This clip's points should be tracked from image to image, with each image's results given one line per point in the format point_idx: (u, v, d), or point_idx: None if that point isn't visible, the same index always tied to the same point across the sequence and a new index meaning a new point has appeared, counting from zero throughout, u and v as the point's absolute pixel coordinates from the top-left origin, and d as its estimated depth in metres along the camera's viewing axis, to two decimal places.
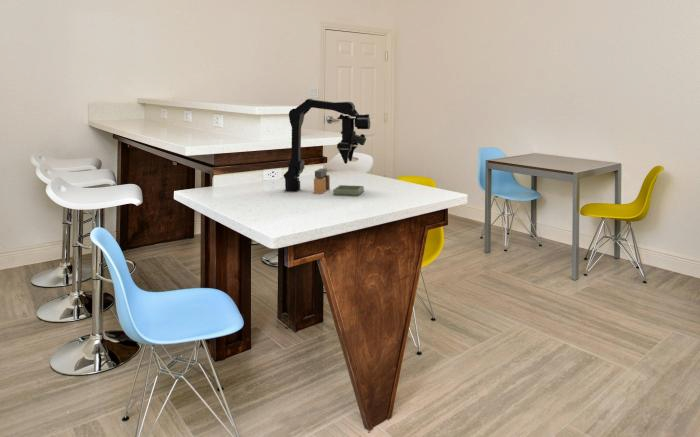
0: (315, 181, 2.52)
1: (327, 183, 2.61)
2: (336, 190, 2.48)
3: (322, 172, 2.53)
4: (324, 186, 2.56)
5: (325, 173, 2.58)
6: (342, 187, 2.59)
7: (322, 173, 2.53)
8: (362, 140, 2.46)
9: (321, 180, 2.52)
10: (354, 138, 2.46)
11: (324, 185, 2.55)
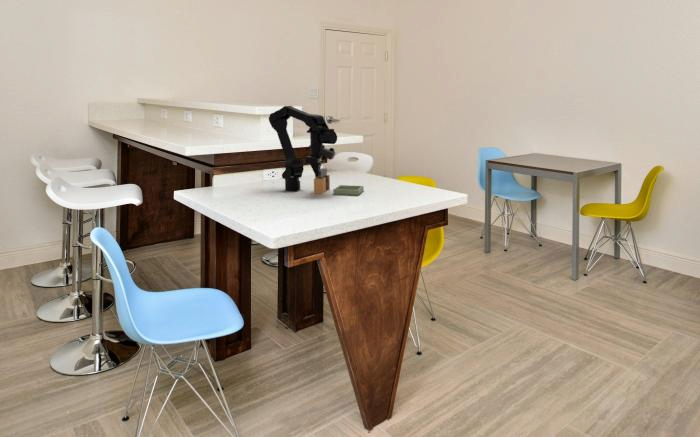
0: (315, 181, 2.52)
1: (327, 183, 2.61)
2: (336, 190, 2.48)
3: (322, 172, 2.53)
4: (324, 186, 2.56)
5: (325, 173, 2.58)
6: (342, 187, 2.59)
7: (322, 173, 2.53)
8: (330, 154, 2.44)
9: (321, 180, 2.52)
10: (322, 152, 2.44)
11: (324, 185, 2.55)
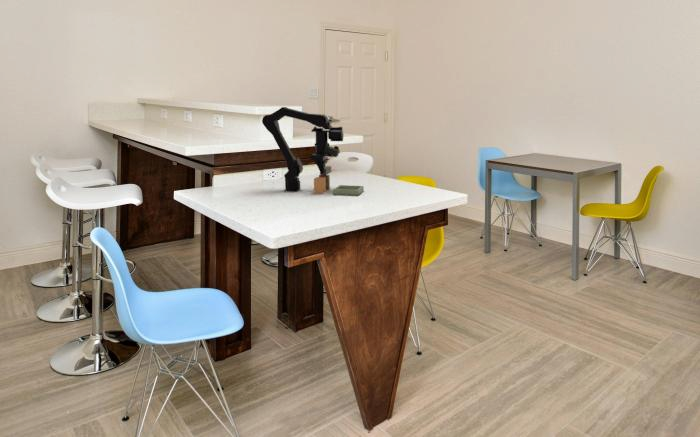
0: (315, 181, 2.52)
1: (327, 183, 2.61)
2: (336, 190, 2.48)
3: (327, 169, 2.61)
4: (324, 186, 2.56)
5: (330, 170, 2.67)
6: (342, 187, 2.59)
7: (327, 171, 2.61)
8: (335, 152, 2.52)
9: (321, 180, 2.52)
10: (327, 150, 2.52)
11: (324, 185, 2.55)
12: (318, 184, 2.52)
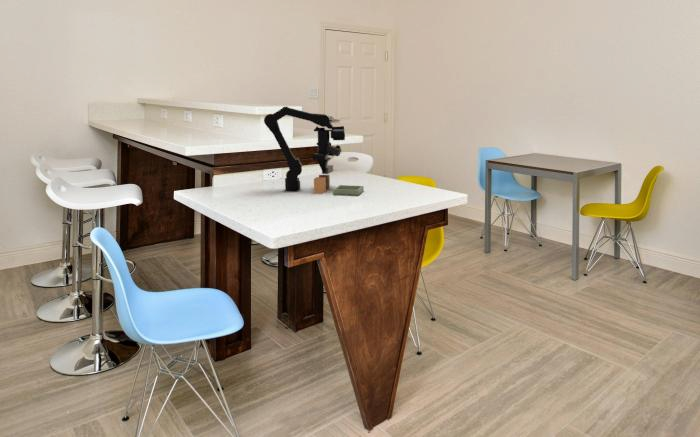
0: (315, 181, 2.52)
1: (327, 183, 2.61)
2: (336, 190, 2.48)
3: (329, 168, 2.65)
4: (324, 186, 2.56)
5: (332, 169, 2.70)
6: (342, 187, 2.59)
7: (329, 170, 2.65)
8: (337, 151, 2.55)
9: (321, 180, 2.52)
10: (329, 149, 2.55)
11: (324, 185, 2.55)
12: (318, 184, 2.52)
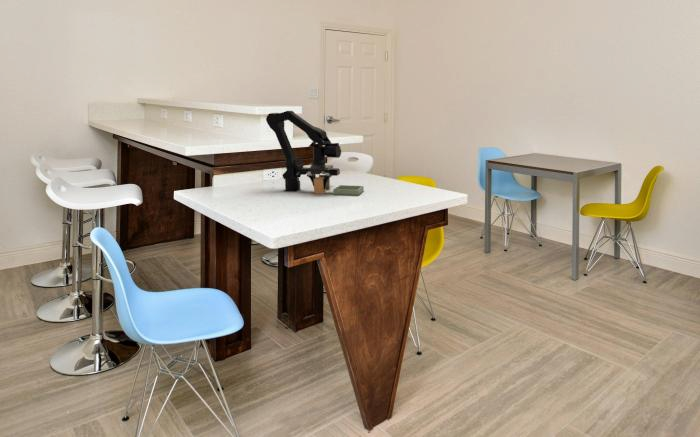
0: (315, 181, 2.52)
1: (327, 183, 2.61)
2: (336, 190, 2.48)
3: (329, 168, 2.65)
4: None
5: None
6: (342, 187, 2.59)
7: None
8: (310, 169, 2.46)
9: (321, 180, 2.52)
10: None
11: None
12: (318, 184, 2.52)
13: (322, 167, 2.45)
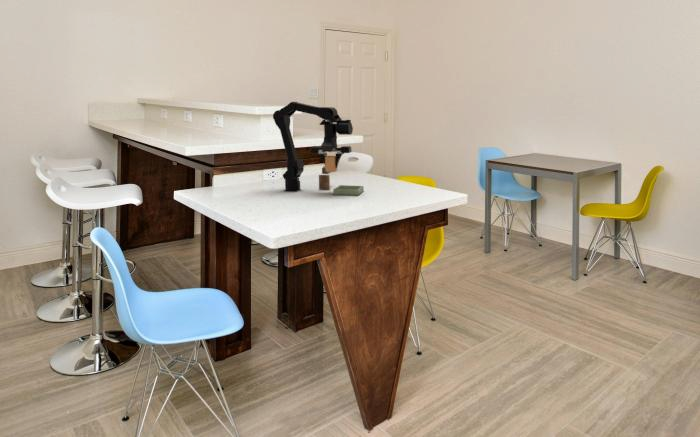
0: (326, 159, 2.49)
1: (327, 183, 2.61)
2: (336, 190, 2.48)
3: None
4: None
5: None
6: (342, 187, 2.59)
7: None
8: (321, 146, 2.43)
9: (332, 158, 2.48)
10: None
11: None
12: (329, 162, 2.49)
13: (334, 144, 2.41)
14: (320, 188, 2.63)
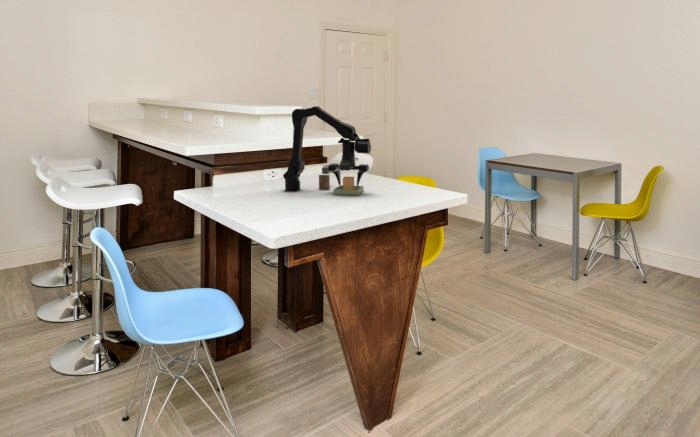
0: (344, 180, 2.50)
1: (327, 183, 2.61)
2: (336, 190, 2.48)
3: None
4: (353, 185, 2.53)
5: None
6: (342, 187, 2.59)
7: None
8: (339, 165, 2.44)
9: (350, 179, 2.49)
10: None
11: (353, 184, 2.52)
12: (347, 183, 2.50)
13: (352, 163, 2.42)
14: (320, 188, 2.63)
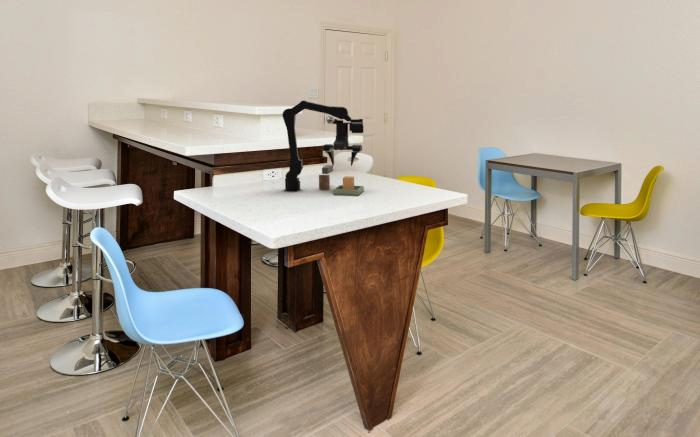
0: (344, 180, 2.50)
1: (327, 183, 2.61)
2: (336, 190, 2.48)
3: (329, 168, 2.65)
4: (353, 185, 2.53)
5: (332, 169, 2.70)
6: (342, 187, 2.59)
7: (329, 170, 2.65)
8: None
9: (350, 179, 2.49)
10: None
11: (353, 184, 2.52)
12: (347, 183, 2.50)
13: (345, 143, 2.49)
14: (320, 188, 2.63)
